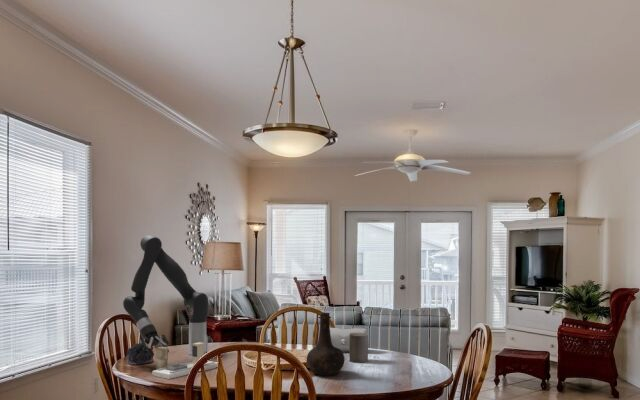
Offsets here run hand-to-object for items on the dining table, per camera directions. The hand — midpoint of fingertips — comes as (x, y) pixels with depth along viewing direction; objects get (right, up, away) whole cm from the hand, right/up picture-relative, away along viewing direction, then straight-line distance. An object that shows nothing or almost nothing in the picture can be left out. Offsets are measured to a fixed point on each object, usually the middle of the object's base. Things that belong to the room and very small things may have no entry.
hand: (160, 354), depth 281 cm
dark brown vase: (+81, -6, -13) cm, 82 cm away
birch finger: (+1, -7, -1) cm, 7 cm away
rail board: (+14, -6, -6) cm, 17 cm away
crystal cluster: (-14, -8, +14) cm, 21 cm away
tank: (+92, -9, +38) cm, 100 cm away
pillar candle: (+98, -7, +14) cm, 99 cm away
